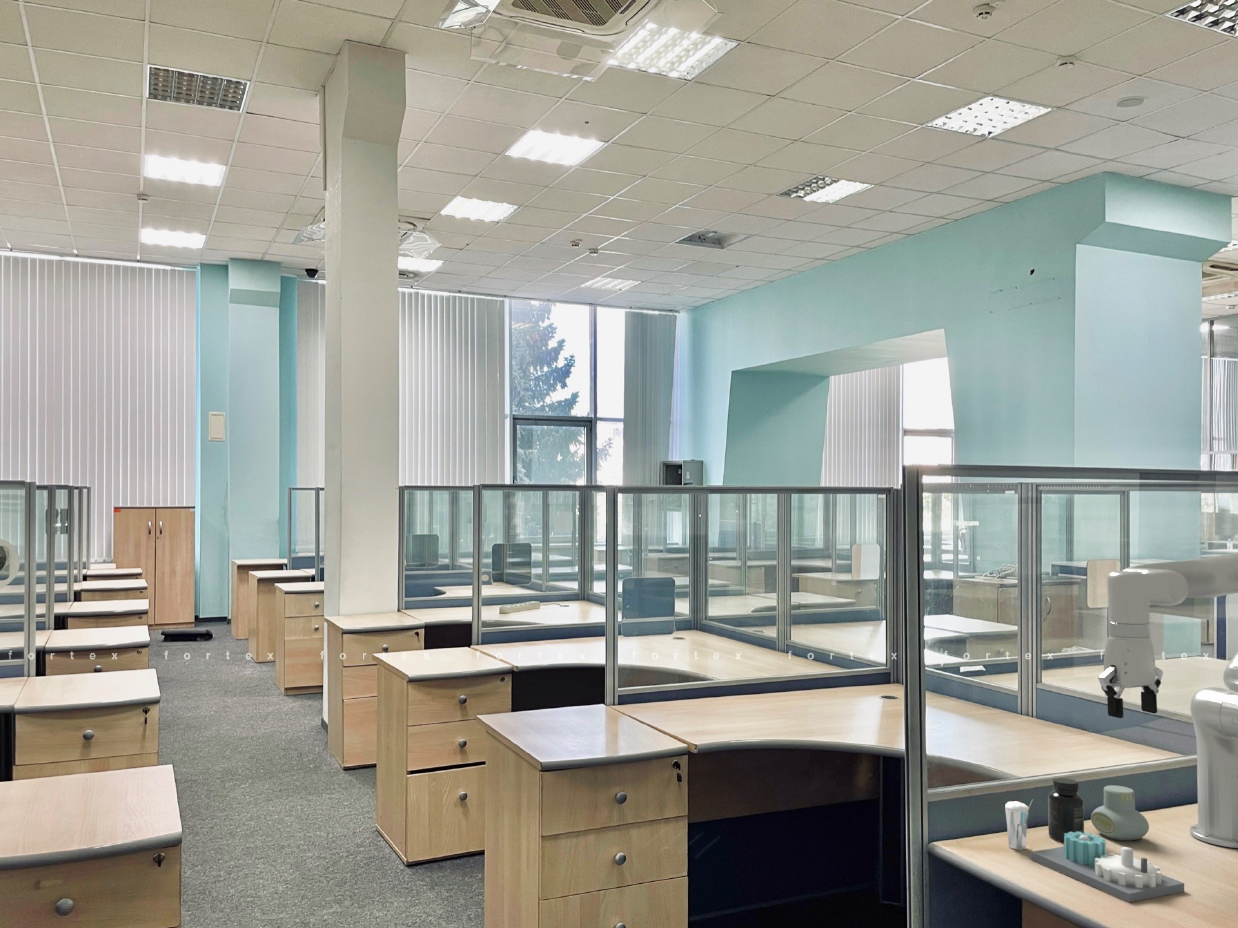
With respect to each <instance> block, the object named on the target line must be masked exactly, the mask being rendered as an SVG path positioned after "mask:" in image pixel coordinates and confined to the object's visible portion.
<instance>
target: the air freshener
mask: <svg viewBox="0 0 1238 928" xmlns="http://www.w3.org/2000/svg"><path fill="white" fill-rule="evenodd" d="M1135 795H1136V792H1135V791H1134V790H1133V789H1132V788H1129V787H1127V786H1122V785H1111V784H1110V785H1105V786H1104V787H1103V805H1101V806H1098V807H1096V808H1095V809H1094V810H1093V811H1092V812H1091V815H1090V821H1091V824H1092V825H1093V826H1094V828H1095V830H1097V831H1098V832H1099V833H1100V834H1102V835H1104V836H1105V837H1106V838H1108V839H1110V840H1111V839H1112V840H1118V841H1136V840H1139V839H1141V838H1143V837H1145V836H1146V835H1147V833H1148V832H1149V829H1150V826H1149V825H1150V824H1149V822H1148V820H1147V818H1146V817H1145V816H1144V815H1143V814H1142V813H1141V812H1140V811H1138V810H1136V798H1135V797H1136V796H1135Z"/></svg>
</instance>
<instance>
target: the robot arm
mask: <svg viewBox="0 0 1238 928" xmlns="http://www.w3.org/2000/svg"><path fill="white" fill-rule="evenodd" d="M1106 578H1107V580H1106V584H1107V588H1106V589H1107V606H1108V607H1107V610H1108V632H1109V633H1108V634H1109V635H1108V637H1107V638H1106V641H1105V647H1104V658H1103V672H1102V673H1101V674H1100V675H1099V676H1098V682H1099V684H1100V686H1101V690H1102V691H1103V692H1104V696H1105V697H1106V699H1107V702H1106V703H1107V715H1108V716H1109V717H1113V718H1118V719H1123V718H1124V699H1123V697H1121V696H1122V694H1123V692H1124V691H1125V689H1133V688H1141V690H1142V691H1140V703H1141V704H1140V705H1141V710H1142V712H1146V713H1150V714H1157V713H1158V699H1157V697H1158V696H1157V694H1159V691H1160V690H1159V688H1160V686H1161V685H1162V681H1161V680H1162V678H1163V674H1164V671H1163V670H1162V669H1160V668H1159V667H1157V666H1156V661H1155V660H1156V659H1155V652H1154V646H1153V642H1152V641H1153V640H1152V638H1151V624H1150V623H1151V621H1150V606H1152V605H1154V606H1161V607H1162V606H1163V607H1171V606H1172V607H1173V606H1177V605H1180V604H1181V603H1183V602H1184V601H1185V600H1186V599H1187V598H1191V599H1192V598H1193V599H1203V598H1204V599H1206V598H1210V599H1211V598H1217V597H1222V596H1223V597H1224V596H1228V595H1232V594H1238V552H1233V553H1226V554H1220V555H1215V556H1209V557H1201V558H1192V559H1191V558H1190V559H1182V560H1176V561H1165V562H1154V563H1145V564H1139V565H1135V566H1134V565H1133V566H1128V567H1126V568H1124V569H1123V570H1115V571H1111V572H1110V573H1109V574H1107V577H1106ZM1222 676H1223V677H1222V679H1223V683H1224V684H1225V687H1227V688H1223V687H1222V688H1221V687H1216V686H1214V687H1212V686H1211V687H1209V686H1208V687H1204V688H1201V689H1199V690H1198V691H1196V692H1195V693H1194V694H1193V696H1192V698H1191V701H1190V714H1191V719H1192V723H1193V729H1194V734H1195V741H1196V777H1197V778H1196V779H1197V824H1196V823H1195V824H1193V825H1190V828H1189V833H1190V835H1191V836H1193V838H1195V839H1197V840H1199V841H1202V842H1204V843H1209V844H1212V845H1216V846H1220V847H1225V848H1233V849H1238V651H1237V652H1236V653H1235V654H1234V655H1233V657H1232V658H1231V659H1230V661H1229V662H1228V664H1227V665H1226V667H1225V669H1224V670H1223V674H1222ZM1115 688H1116V689H1115Z"/></svg>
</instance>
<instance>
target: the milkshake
mask: <svg viewBox="0 0 1238 928" xmlns="http://www.w3.org/2000/svg"><path fill="white" fill-rule="evenodd" d="M1033 801H1034V799H1033V798H1032V799H1031V801H1030V804H1029V806H1028V805H1026V804H1025V803H1023V802H1020V801H1018V800H1017V801H1007V802H1006V803H1005V807H1004V810H1005V811H1004V812H1005V818H1006V819H1005V820H1006V828H1007V841H1008V847H1009V848H1010V849H1013V850H1016V851H1024V850H1026V847H1027V837H1028V836H1027V833H1028V823H1029V814H1030V813H1029V812H1030V807H1031V805H1032V803H1033Z"/></svg>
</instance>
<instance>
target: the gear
mask: <svg viewBox="0 0 1238 928" xmlns="http://www.w3.org/2000/svg"><path fill="white" fill-rule="evenodd" d="M1081 835H1086V836H1088V837H1089V839H1090V841H1085V840H1080V839H1079V837H1080V836H1081ZM1063 844H1064V846H1063V847H1064V855H1065V858H1068V859H1069V860H1070V861H1072V862H1078V863H1079V864H1088V865H1091V866H1094V865H1095V858H1099V859H1100V856H1102V855H1106V853H1107V848H1106V847H1107V846H1106V839H1105V838H1104V837H1101V835H1097V834H1092V833H1090V832H1084V833H1081V832H1075V833H1073V832H1068V834H1067V833H1065V834H1064V842H1063Z"/></svg>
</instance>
